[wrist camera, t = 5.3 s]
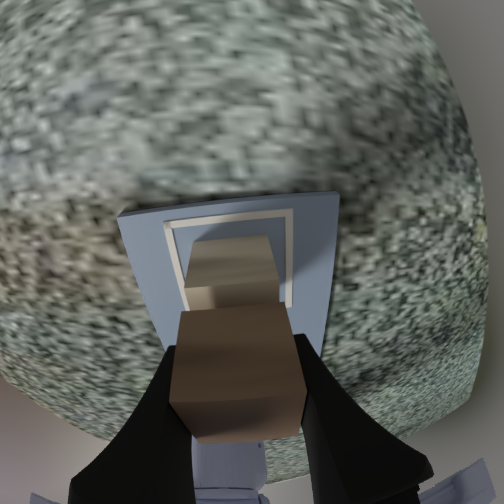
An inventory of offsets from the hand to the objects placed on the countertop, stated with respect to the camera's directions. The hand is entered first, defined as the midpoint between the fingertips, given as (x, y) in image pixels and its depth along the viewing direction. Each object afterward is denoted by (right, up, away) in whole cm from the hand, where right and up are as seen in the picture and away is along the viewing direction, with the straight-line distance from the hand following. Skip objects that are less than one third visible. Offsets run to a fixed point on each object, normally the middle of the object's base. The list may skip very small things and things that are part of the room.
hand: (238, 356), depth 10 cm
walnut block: (0, 0, +1) cm, 1 cm away
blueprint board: (0, -1, +8) cm, 8 cm away
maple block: (0, +3, +5) cm, 6 cm away
